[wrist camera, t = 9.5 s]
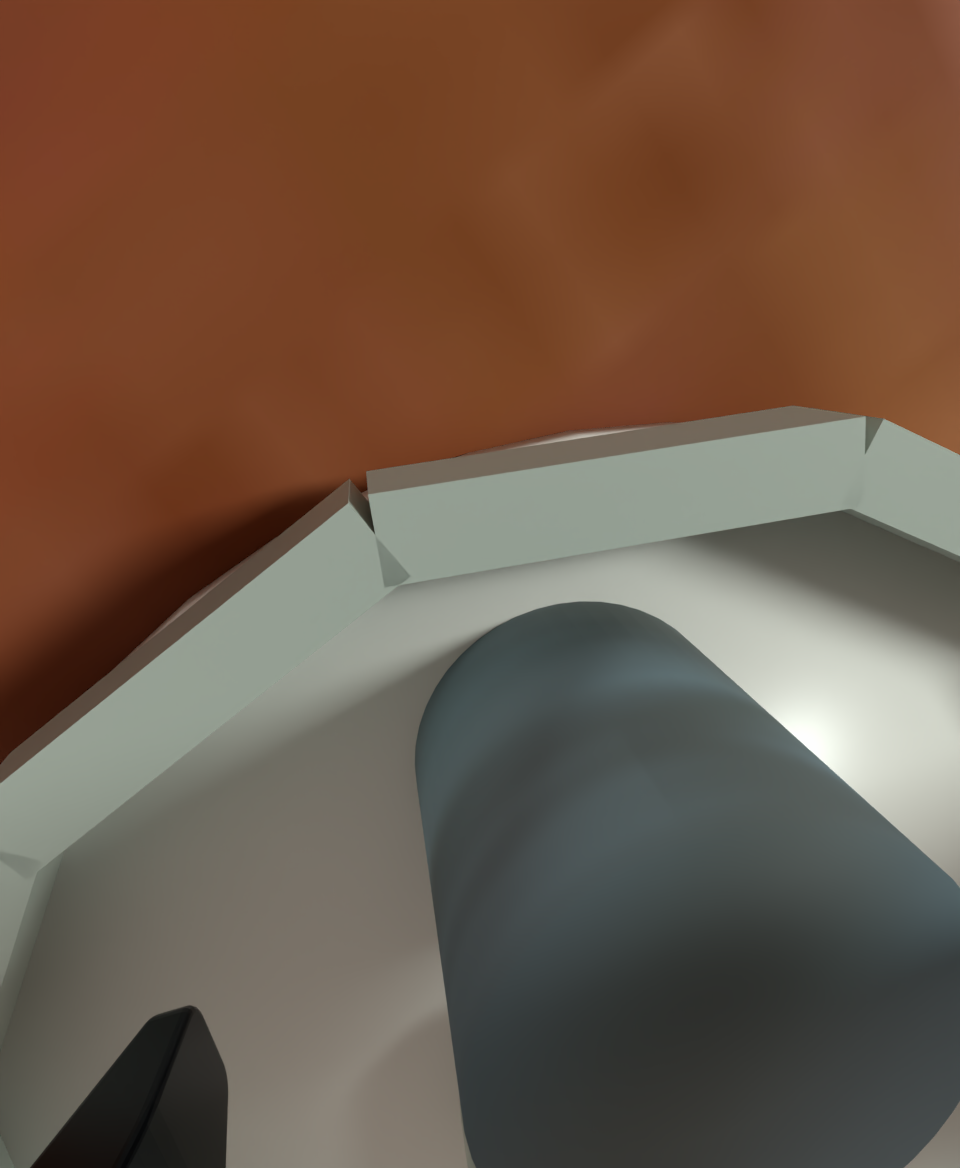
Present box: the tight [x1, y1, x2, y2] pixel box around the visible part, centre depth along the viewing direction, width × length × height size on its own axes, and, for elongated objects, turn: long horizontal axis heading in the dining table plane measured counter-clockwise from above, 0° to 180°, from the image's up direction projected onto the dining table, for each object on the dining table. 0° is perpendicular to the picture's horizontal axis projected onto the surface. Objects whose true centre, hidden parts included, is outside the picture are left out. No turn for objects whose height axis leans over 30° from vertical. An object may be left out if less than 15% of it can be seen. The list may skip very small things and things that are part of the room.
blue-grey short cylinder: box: [415, 601, 960, 1168], centre depth 9 cm, size 4×4×5 cm
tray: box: [0, 406, 960, 1168], centre depth 13 cm, size 21×21×2 cm
